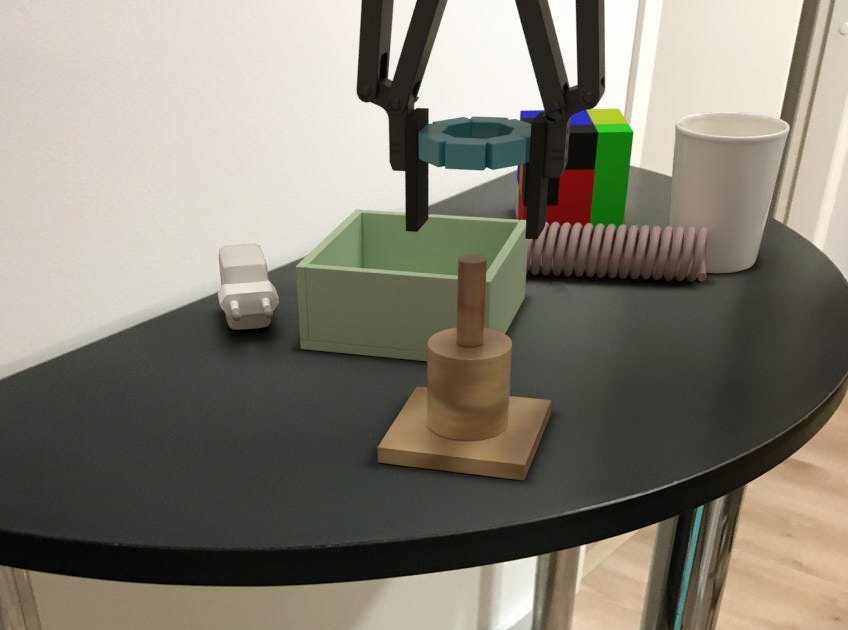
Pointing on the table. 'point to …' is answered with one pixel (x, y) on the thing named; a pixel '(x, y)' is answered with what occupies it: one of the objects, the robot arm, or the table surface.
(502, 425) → the stand
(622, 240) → the coil
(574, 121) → the puzzle toy
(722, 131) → the white cup
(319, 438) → the table surface
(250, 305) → the power adapter
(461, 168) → the ring
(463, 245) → the bin
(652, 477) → the table surface
